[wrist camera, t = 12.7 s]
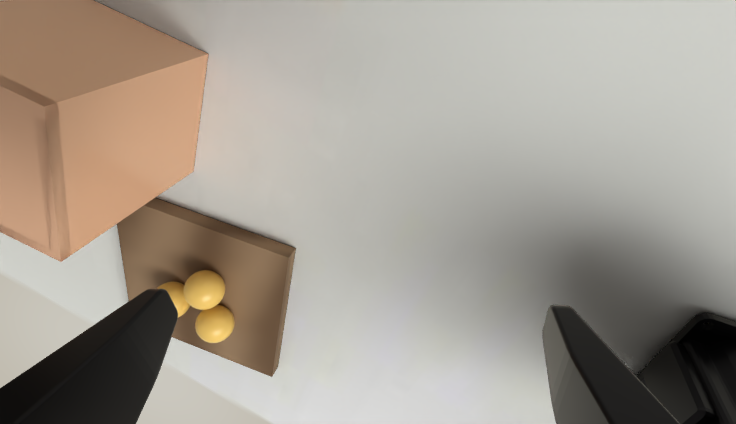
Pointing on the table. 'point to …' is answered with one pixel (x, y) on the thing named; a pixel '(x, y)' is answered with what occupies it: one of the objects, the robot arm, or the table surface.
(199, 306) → the amber marbles
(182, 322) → the walnut pad
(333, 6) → the table surface
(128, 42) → the tan upright cuboid
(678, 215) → the table surface
